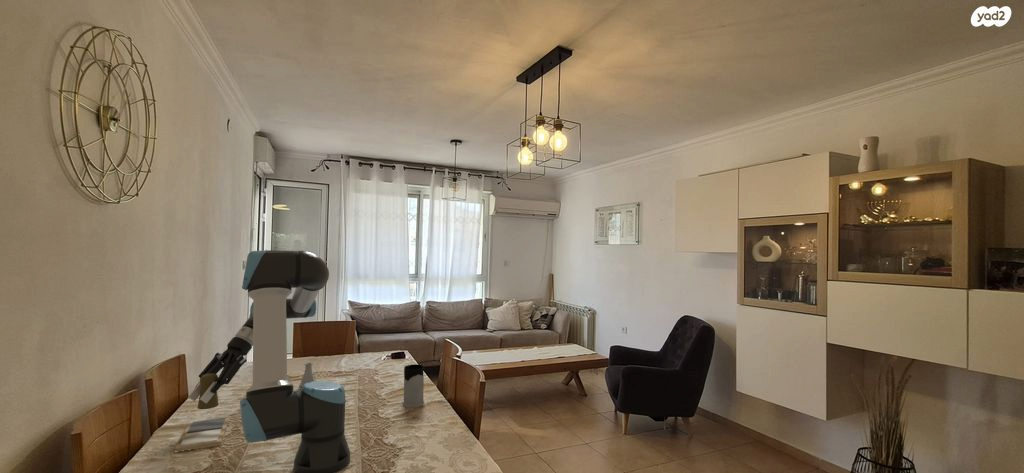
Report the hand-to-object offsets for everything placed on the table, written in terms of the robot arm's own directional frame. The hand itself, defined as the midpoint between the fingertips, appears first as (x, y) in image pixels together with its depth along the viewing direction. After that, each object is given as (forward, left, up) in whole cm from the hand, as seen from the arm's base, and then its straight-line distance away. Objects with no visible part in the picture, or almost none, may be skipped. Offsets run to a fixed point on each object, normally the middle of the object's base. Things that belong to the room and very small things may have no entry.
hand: (197, 400), depth 149 cm
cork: (+3, -3, -3) cm, 5 cm away
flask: (+41, -36, -11) cm, 55 cm away
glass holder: (0, -73, -11) cm, 74 cm away
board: (-3, -3, -11) cm, 12 cm away
